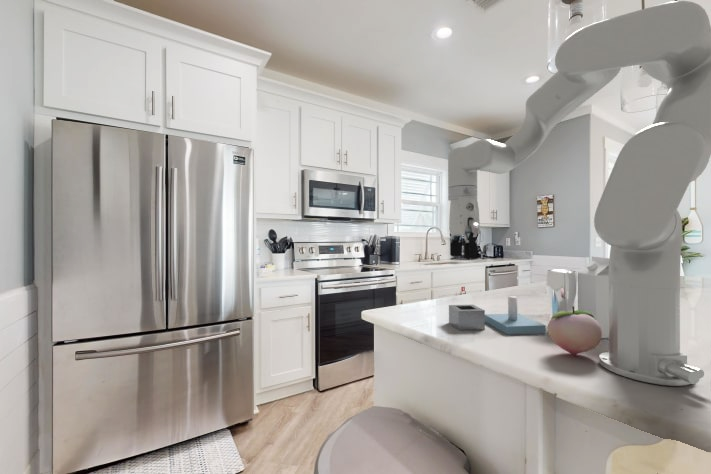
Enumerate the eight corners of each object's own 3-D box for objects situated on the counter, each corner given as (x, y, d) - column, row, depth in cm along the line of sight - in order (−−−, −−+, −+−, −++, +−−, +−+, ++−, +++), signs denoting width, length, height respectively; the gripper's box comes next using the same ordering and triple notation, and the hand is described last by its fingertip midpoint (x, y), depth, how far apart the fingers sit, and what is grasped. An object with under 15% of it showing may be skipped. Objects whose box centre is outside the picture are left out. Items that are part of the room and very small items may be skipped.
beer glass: (540, 325, 86) (540, 270, 86) (557, 321, 89) (556, 268, 89) (567, 332, 80) (566, 272, 80) (583, 328, 83) (583, 271, 83)
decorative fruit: (578, 367, 59) (576, 313, 59) (541, 351, 67) (539, 304, 67) (614, 359, 62) (613, 308, 61) (575, 346, 69) (573, 300, 69)
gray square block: (484, 329, 82) (484, 310, 82) (458, 330, 82) (458, 311, 82) (473, 322, 89) (472, 304, 89) (448, 322, 89) (448, 305, 89)
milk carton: (607, 330, 81) (606, 256, 81) (628, 339, 74) (627, 258, 74) (577, 329, 82) (577, 256, 81) (595, 338, 74) (595, 258, 74)
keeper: (545, 333, 79) (545, 301, 79) (507, 334, 78) (506, 302, 78) (517, 320, 91) (517, 292, 91) (484, 321, 90) (484, 293, 90)
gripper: (491, 189, 77) (491, 259, 78) (463, 198, 95) (463, 254, 95) (461, 189, 77) (461, 259, 77) (438, 198, 94) (439, 255, 94)
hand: (462, 257), depth 86 cm, fingers open, 9 cm apart
